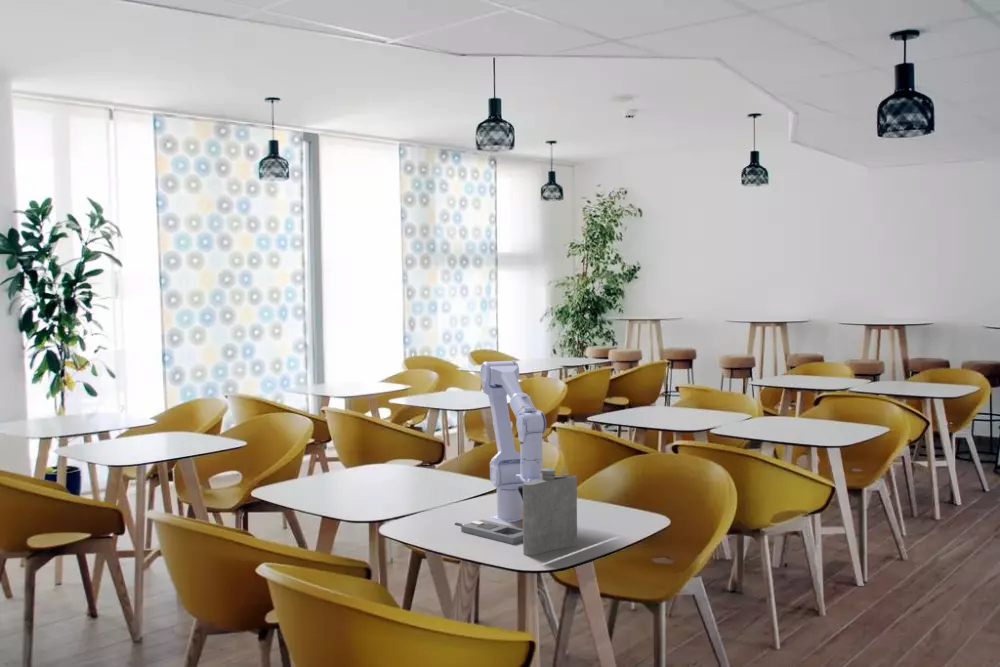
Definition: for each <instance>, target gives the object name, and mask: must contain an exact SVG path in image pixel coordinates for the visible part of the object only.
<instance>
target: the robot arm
mask: <svg viewBox="0 0 1000 667" xmlns="http://www.w3.org/2000/svg"><path fill="white" fill-rule="evenodd" d="M479 372H480V373H479V376H480V382H481V383H480V384H481V388H482V391H483V392H482V393H483V394H486V395H488V399H489V405H490V411H491V416H492V417H491V419H492V424H493V431H494V437H495V443H496V449H497V453H496V454H495V455H494V456H493V457H492V458H491V459H490V461H489V479H490V482H491V484H492V486H494V488H496V515H492V516H490V517H489V518H490V519H494V520H497V521H498V520H499V521H502V522H506V523H507V522H508V523H514V522H518V521H521V520H522V504H523V483H524V482H528V481H533V480H537V479H542V473H541V469H543V434H544V433H545V432H546V429H547V419H546V416H545V413H544V412H543V411H542V410H540V409H536V407H535V405H534V403H533V402H532V399H531V397H530V395H529V394H527V393H525V392H523V388H522V386H521V384H520V382H519V376H520V368H519V364H518V363H517V361H516V360H502V361H501V360H499V361H498V360H497V361H487V360H486V361H483V362H482V364H481V366H480V371H479ZM507 396H508V397H509V398H510V400H509V403H508V399H507ZM508 404H509V405H508ZM509 407H510V408H511V412H513V414H514V417H515V418H516V422H515V423H516V425H515V426H516V430H517V439H518V441H519V445H520V446H519V448H520V449H519V450H520V451H517V450H516V447H515V440H514V435H513V428H512V423H511V422H512V421H511V417H510V412H509V411H510V409H509Z"/></svg>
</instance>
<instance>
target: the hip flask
mask: <svg viewBox="0 0 1000 667" xmlns="http://www.w3.org/2000/svg"><path fill="white" fill-rule="evenodd" d="M541 473H542V479H537V480H533V481H528V482H524V483H523V541H522V544H523V545H522V546H523V547H522V548H523V553H522V554H523V556H527V557H534V556H537V555H539V554H543V553H547V552H550V551H556V550H560V549H564V548H570V547H577V545H578V491H577V490H578V486H577V485H578V476H577V475H576V474H575V475H574V474H558V475H556V473H557V469H555V468H546V467H545V468H542V469H541Z"/></svg>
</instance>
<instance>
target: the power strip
mask: <svg viewBox="0 0 1000 667" xmlns="http://www.w3.org/2000/svg"><path fill="white" fill-rule="evenodd" d="M454 526H458V527H461V528H460V531H461V532H462V533H466V534H468V535H469V534H470V535H474V536H478V537H483V538H485V539H486V538H487V539H489V540H494V541H498V542H501V543H507V544H509V545H515V544H519V543H521V542H522V543H523V529H522V528H519V527H515V526H511V525H507V524H503V523H498V522H495V521H491V520H485V519H480V520H473V521H470V523H466V524H464V523H460V522H455V523H454Z"/></svg>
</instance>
